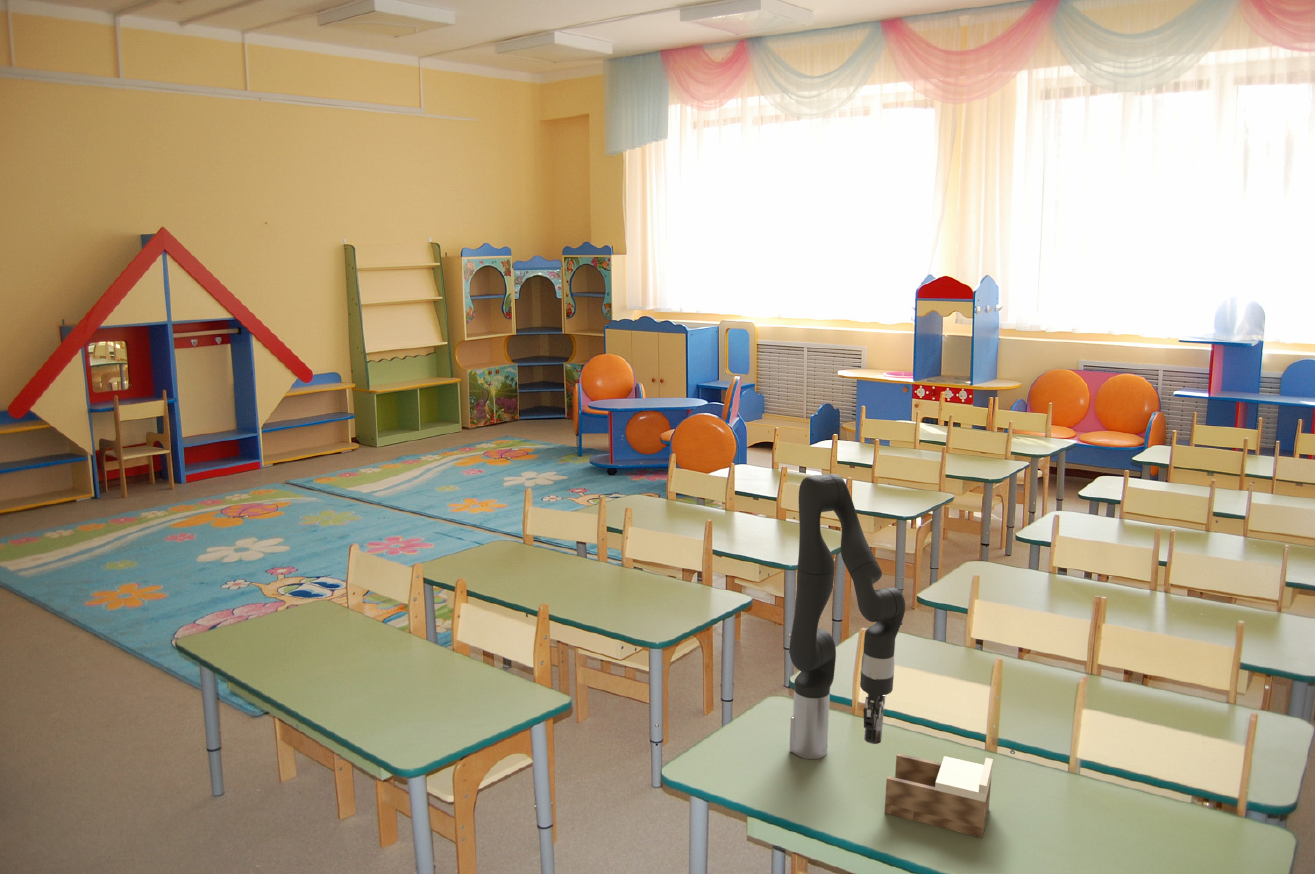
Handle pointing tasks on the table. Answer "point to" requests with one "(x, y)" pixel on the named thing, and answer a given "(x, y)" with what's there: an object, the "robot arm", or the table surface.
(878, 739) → the silver metal cylinder
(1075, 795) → the table surface
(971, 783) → the lid
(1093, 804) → the table surface
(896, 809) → the box
